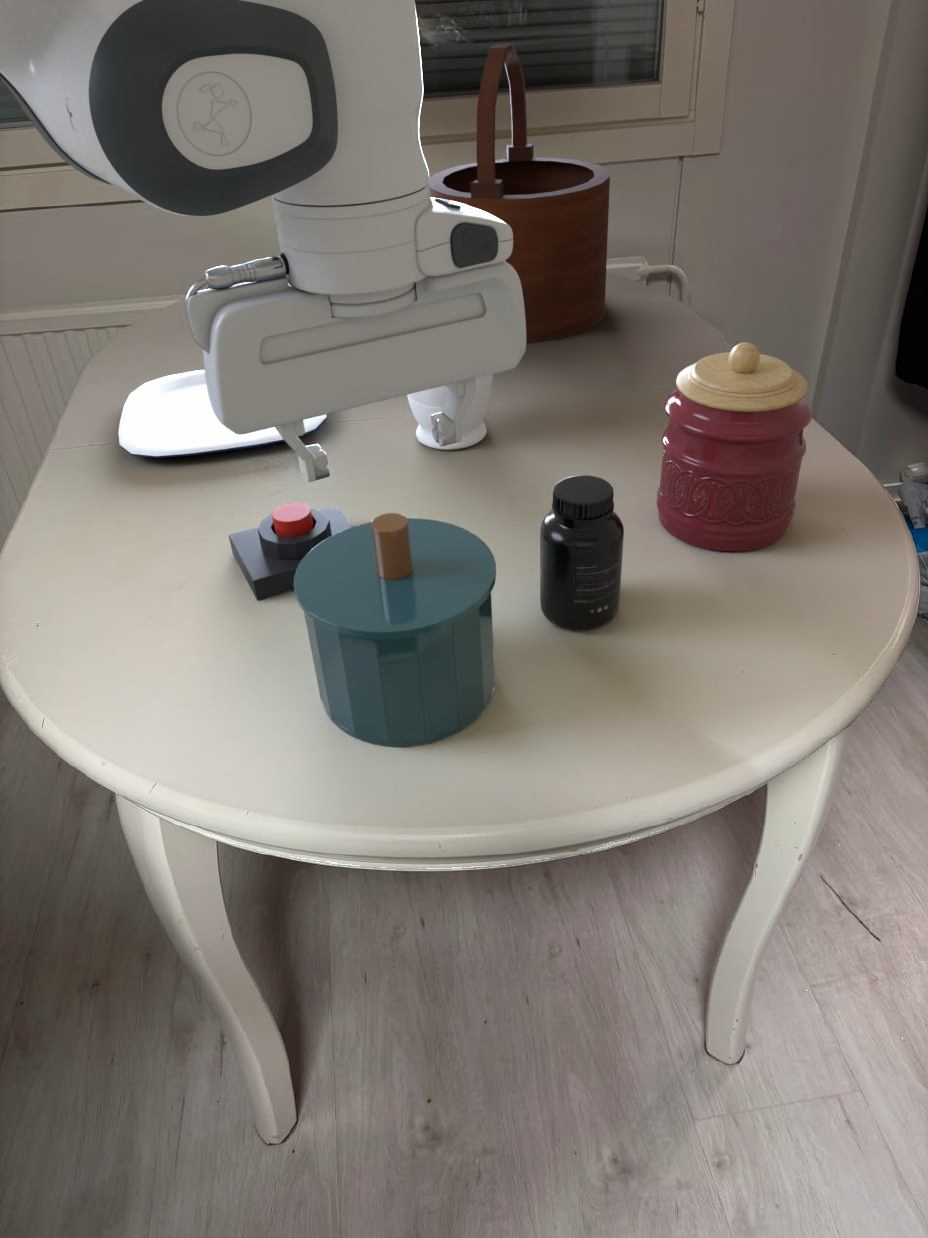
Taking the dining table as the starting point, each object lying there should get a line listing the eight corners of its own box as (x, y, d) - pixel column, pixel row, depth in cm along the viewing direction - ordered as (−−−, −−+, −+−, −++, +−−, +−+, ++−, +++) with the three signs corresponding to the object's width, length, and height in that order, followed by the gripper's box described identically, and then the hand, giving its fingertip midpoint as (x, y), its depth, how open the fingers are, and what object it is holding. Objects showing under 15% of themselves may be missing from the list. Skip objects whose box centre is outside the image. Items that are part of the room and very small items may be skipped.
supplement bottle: (526, 599, 82) (525, 479, 75) (594, 579, 84) (599, 460, 77) (563, 643, 77) (565, 518, 69) (634, 620, 79) (643, 496, 71)
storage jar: (357, 771, 66) (338, 657, 60) (300, 664, 76) (278, 557, 70) (524, 709, 71) (523, 597, 64) (449, 615, 81) (442, 511, 74)
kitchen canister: (631, 504, 94) (642, 333, 84) (738, 476, 98) (762, 309, 87) (703, 568, 84) (726, 384, 74) (820, 534, 88) (858, 354, 77)
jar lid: (334, 671, 60) (323, 606, 57) (271, 563, 70) (259, 503, 67) (533, 605, 64) (532, 542, 61) (445, 513, 75) (441, 455, 72)
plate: (114, 475, 105) (110, 462, 104) (131, 389, 125) (128, 377, 124) (336, 445, 108) (334, 431, 107) (318, 366, 128) (317, 354, 127)
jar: (496, 454, 105) (491, 322, 96) (404, 457, 105) (392, 326, 96) (494, 414, 113) (491, 289, 104) (410, 417, 113) (399, 294, 104)
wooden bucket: (613, 287, 149) (624, 30, 128) (594, 346, 129) (604, 53, 108) (458, 283, 154) (444, 37, 133) (416, 340, 135) (393, 60, 114)
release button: (281, 541, 85) (278, 525, 84) (270, 524, 87) (267, 508, 86) (318, 531, 86) (315, 515, 85) (306, 514, 89) (303, 498, 88)
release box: (257, 600, 84) (248, 564, 81) (232, 553, 90) (224, 518, 88) (370, 567, 87) (365, 530, 85) (338, 524, 94) (333, 489, 92)
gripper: (189, 289, 47) (242, 521, 56) (537, 223, 54) (539, 440, 62) (165, 260, 52) (217, 478, 60) (488, 202, 59) (496, 406, 67)
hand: (383, 458), depth 61 cm, fingers open, 8 cm apart
